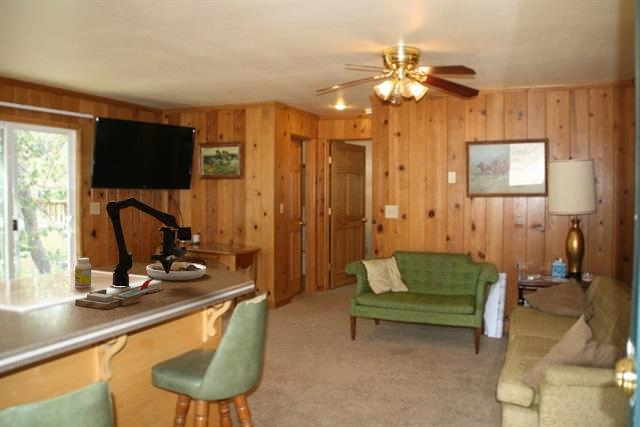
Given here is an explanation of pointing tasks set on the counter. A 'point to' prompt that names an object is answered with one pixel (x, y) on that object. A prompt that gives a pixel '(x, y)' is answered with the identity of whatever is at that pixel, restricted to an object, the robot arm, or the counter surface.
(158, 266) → the bowl
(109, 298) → the matte grey rectangular prism
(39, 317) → the counter surface
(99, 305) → the jig
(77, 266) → the supplement bottle
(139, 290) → the toy spaceship
